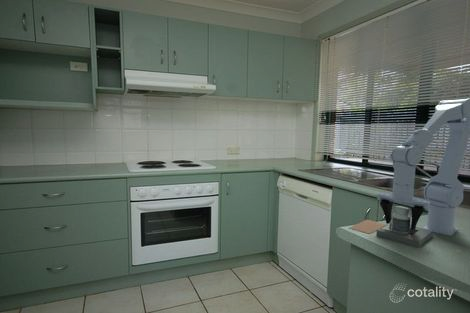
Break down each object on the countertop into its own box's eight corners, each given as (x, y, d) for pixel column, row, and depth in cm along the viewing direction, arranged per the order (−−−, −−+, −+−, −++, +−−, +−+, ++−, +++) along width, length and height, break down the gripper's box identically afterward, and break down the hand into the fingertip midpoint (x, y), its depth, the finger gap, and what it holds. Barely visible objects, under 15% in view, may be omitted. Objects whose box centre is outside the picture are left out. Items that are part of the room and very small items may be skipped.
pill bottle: (412, 238, 89) (414, 210, 88) (393, 237, 90) (396, 209, 89) (405, 232, 94) (407, 206, 93) (388, 231, 95) (389, 205, 94)
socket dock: (392, 226, 100) (393, 221, 100) (432, 236, 91) (432, 230, 91) (376, 235, 91) (376, 230, 91) (418, 247, 82) (419, 241, 82)
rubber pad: (367, 219, 107) (367, 219, 107) (387, 224, 102) (387, 224, 102) (348, 228, 98) (348, 227, 98) (369, 234, 92) (369, 233, 92)
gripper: (374, 182, 93) (371, 222, 95) (426, 189, 82) (422, 235, 84) (383, 179, 98) (380, 218, 99) (433, 186, 87) (429, 230, 89)
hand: (400, 225), depth 92 cm, fingers open, 7 cm apart
